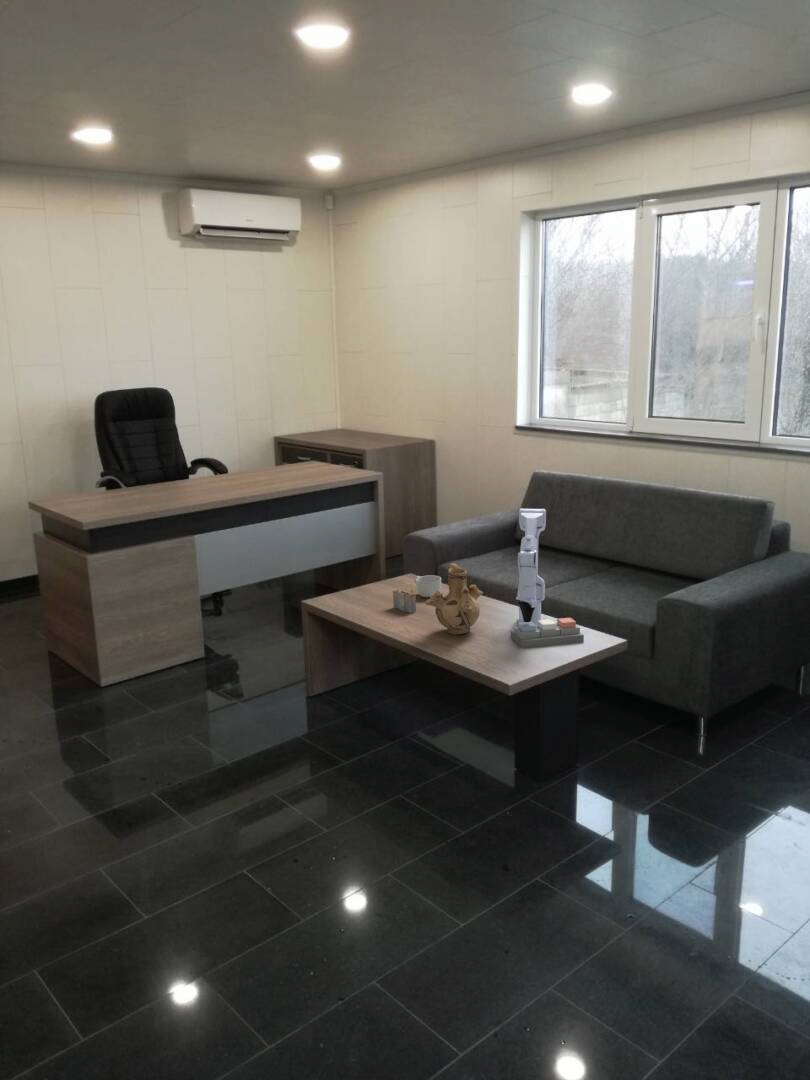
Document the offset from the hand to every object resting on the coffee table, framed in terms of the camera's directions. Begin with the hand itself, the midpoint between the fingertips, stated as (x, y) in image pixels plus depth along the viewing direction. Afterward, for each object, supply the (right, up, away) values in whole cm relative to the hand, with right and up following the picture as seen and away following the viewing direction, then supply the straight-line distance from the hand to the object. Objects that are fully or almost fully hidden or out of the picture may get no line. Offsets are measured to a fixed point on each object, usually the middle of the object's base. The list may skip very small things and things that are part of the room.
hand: (527, 621), depth 304 cm
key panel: (+7, -7, +3) cm, 11 cm away
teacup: (-34, +5, +63) cm, 72 cm away
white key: (+7, -3, +2) cm, 8 cm away
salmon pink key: (+15, -2, +4) cm, 15 cm away
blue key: (0, -3, +1) cm, 3 cm away
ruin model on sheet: (-43, 0, +43) cm, 61 cm away
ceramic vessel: (-24, -6, +13) cm, 28 cm away
